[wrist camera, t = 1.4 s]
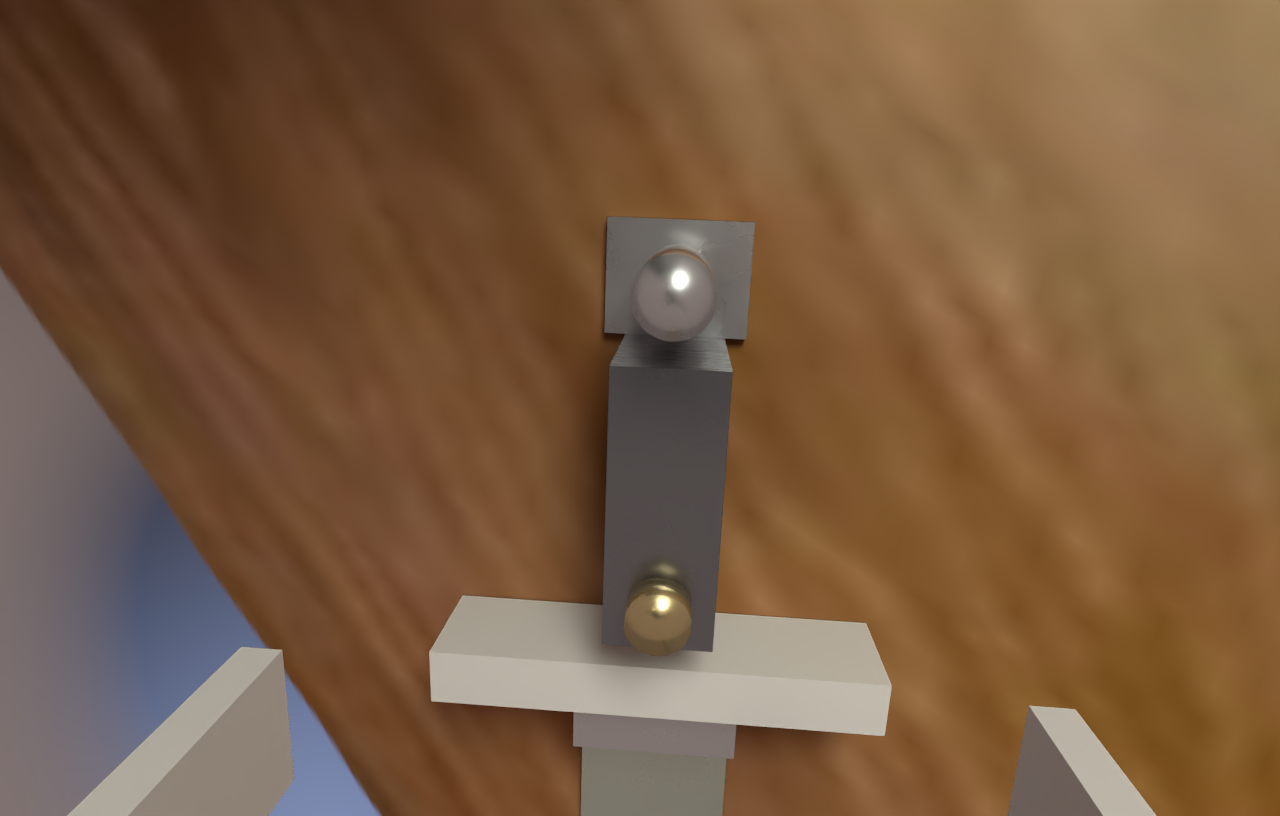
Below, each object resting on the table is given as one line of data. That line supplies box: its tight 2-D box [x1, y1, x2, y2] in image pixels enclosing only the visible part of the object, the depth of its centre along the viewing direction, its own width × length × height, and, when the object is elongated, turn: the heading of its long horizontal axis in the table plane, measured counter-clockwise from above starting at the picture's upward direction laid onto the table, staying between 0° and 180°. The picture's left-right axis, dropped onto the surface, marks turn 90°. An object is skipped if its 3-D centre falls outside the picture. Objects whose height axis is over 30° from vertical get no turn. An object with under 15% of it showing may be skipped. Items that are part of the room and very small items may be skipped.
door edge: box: [429, 595, 892, 736], centre depth 28 cm, size 2×16×4 cm, turn 88°
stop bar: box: [602, 334, 733, 656], centre depth 25 cm, size 9×4×7 cm, turn 178°
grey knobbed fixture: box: [604, 216, 755, 342], centre depth 24 cm, size 4×5×6 cm
